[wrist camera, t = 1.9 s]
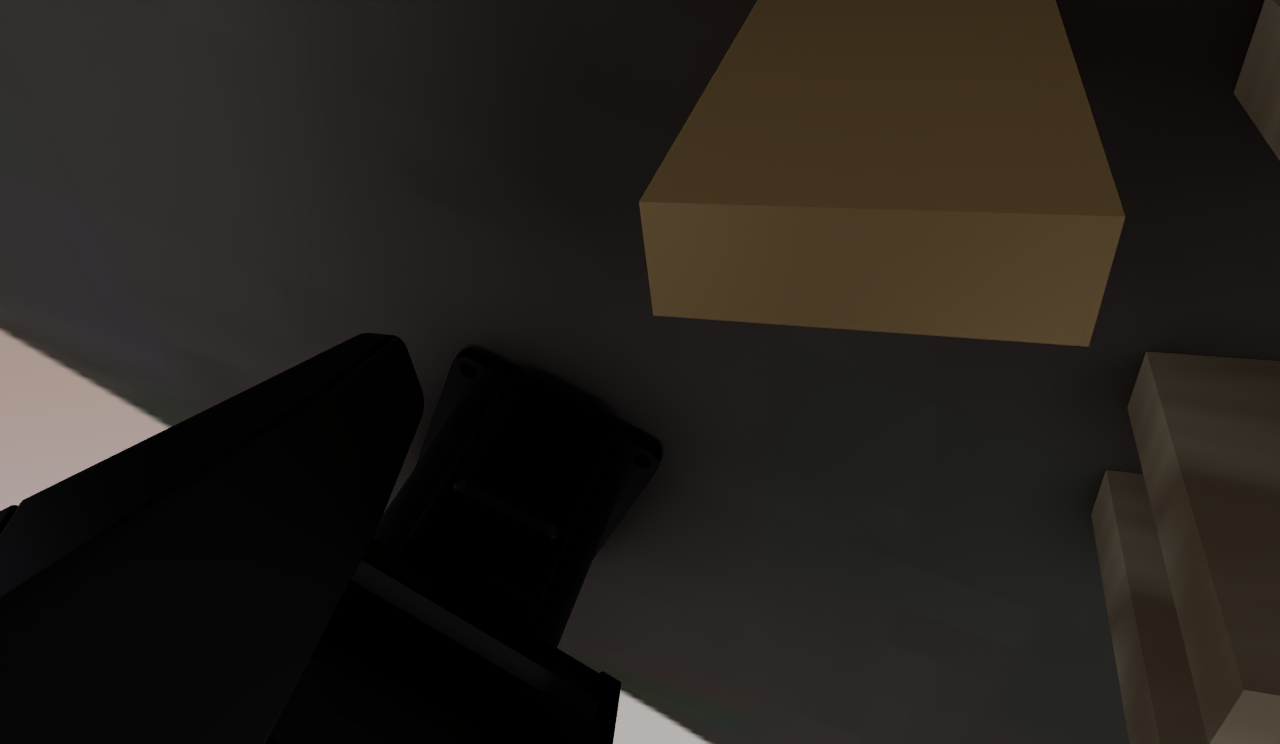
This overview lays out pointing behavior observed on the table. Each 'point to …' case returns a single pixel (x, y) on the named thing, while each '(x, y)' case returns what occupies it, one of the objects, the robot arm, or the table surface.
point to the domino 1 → (890, 176)
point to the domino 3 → (1143, 617)
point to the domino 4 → (1263, 76)
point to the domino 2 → (1218, 527)
